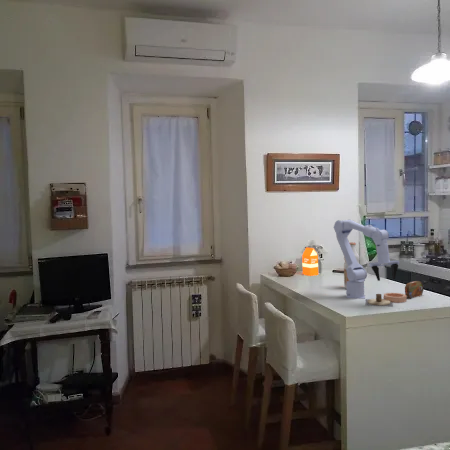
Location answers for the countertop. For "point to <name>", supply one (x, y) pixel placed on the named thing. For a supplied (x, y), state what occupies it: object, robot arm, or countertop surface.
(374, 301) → the lid
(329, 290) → the countertop surface
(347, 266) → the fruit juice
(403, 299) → the bowl
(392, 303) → the mat
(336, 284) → the countertop surface
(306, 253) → the orange juice
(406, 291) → the tin
